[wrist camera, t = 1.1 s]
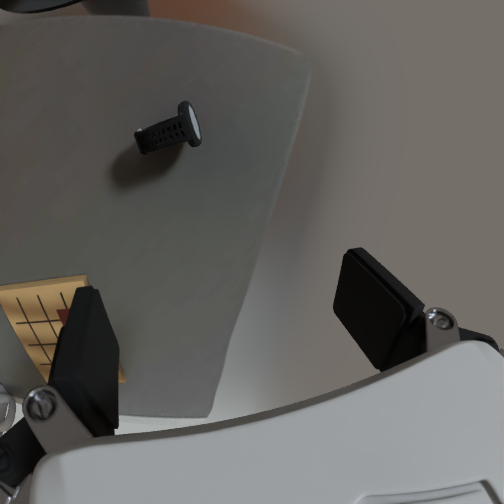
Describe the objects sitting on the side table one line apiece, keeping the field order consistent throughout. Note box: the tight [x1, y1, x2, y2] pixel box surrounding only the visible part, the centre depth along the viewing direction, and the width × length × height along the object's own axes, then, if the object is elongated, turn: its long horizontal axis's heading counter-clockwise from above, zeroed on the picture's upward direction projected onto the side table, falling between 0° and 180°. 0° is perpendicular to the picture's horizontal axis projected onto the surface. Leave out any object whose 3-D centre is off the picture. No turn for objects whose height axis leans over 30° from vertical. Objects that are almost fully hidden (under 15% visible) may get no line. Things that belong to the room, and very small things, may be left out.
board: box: [0, 275, 125, 383], centre depth 28 cm, size 16×12×1 cm
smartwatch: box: [134, 101, 202, 155], centre depth 20 cm, size 4×5×5 cm
